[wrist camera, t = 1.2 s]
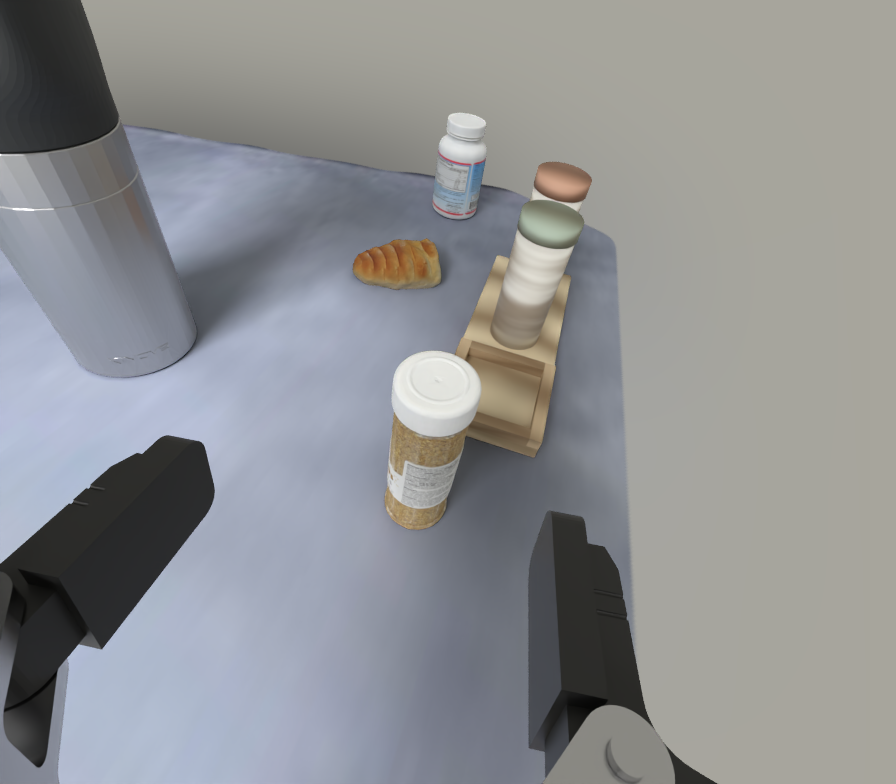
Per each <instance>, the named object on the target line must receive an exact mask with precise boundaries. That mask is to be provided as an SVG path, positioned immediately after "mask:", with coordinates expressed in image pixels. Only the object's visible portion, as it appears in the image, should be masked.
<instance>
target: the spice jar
mask: <svg viewBox="0 0 896 784" xmlns="http://www.w3.org/2000/svg"><path fill="white" fill-rule="evenodd" d="M481 390H482V388H481V381H480V378H479V376H478V374H477V372H476V371H475V369H474V368H473V367H472V366H471V365H470V364H469V363H468V362H466V361H465V360H463V359H462V358H460V357H458V356H456V355H454V354H451V353H447V352H442V351H424V352H420V353H416V354H414V355H412V356H410V357H408V358H407V359H405V360H404V361H403V362H402V363H401V364H400V365H399V366H398V368H397V370H396V372H395V375H394V378H393V387H392V407H393V410H394V418H393V429H392V436H391V441H390V451H389V462H388V473H387V482H388V486H387V490H386V493H385V506H386V510H387V512H388V514H389V515H390V517H391V518H392V520H394V521H395V522H396V523H397V524H399V525H401V526H402V527H405V528H407V529H416V530H420V529H426V528H428V527H431V526H433V525H434V524H435V523H437V522H438V521H439V520H440V518H441V517H442V516H443V514H444V512H445V509H446V502H447V500H446V499H447V496H448V494H449V492H450V490H451V486H452V483H453V480H454V477H455V474H456V470H457V467H458V464H459V461H460V457H461V454H462V451H463V447H464V441H465V437H466V433H467V430H468V427H469V425H470V423H471V422H472V420H473V419H474V417H475V414H476V411H477V408H478V405H479V401H480V397H481Z"/></svg>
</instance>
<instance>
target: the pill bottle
mask: <svg viewBox="0 0 896 784" xmlns="http://www.w3.org/2000/svg"><path fill="white" fill-rule="evenodd" d="M485 128H486V122H485V121H484V120H483V119H482V118H480V117H478V116H475V115H472V114H467V113H454V114H451V115H450V116H449V117H448V122H447V132H448V135H445V136H444V137H443V138H442V139H441V141H440V143H439V150H438V159H437V167H436V175H435V184H434V192H433V202H432V204H433V207H434V209H435V210H436V211H437V212H438V213H439V214H440V215H442V216H444V217H446V218H450V219H467V218H470V217H471V216H473V215H474V214H475V212H476V208H477V203H478V198H479V192H480V187H481V181H482V176H483V171H484V166H485V160H486V154H487V149H486V146H485V144H484V142H483V141H482V140H481V139H482V138H483V137H484V134H485Z"/></svg>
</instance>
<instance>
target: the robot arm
mask: <svg viewBox="0 0 896 784" xmlns="http://www.w3.org/2000/svg"><path fill="white" fill-rule="evenodd" d="M0 248H1V250H2V251H3V253H4V254H5V256H6V257H7V259H8V260H9V262H10V263H11V265H12V266H13V268H14V269H15V271H16V272H17V273H18V275H19V276H20V278H21V279H22V281H23V282H24V284H25V285H26V287H27V288H28V290H29V291H30V293H31V294H32V296H33V297H34V299H35V300H36V301H37V303H38V304H39V306H40V307H41V309H42V310H43V312H44V313H45V315H46V316H47V318H48V319H49V321H50V322H51V324H52V325H53V327H54V328H55V330H56V331H57V333H58V334H59V336H60V337H61V338H62V340H63V341H64V343H65V344H66V346H67V347H68V349H69V350H70V351H71V353H72V354H73V356H74V357H75V359H76V360H77V362H78V363H79V364H80V365H81V366H82V367H83V368H85V369H86V370H88V371H90V372H92V373H95V374H97V375H102V376H107V377H133V376H139V375H144V374H148V373H152V372H155V371H157V370H160V369H163V368H165V367H167V366H169V365H171V364H173V363H174V362H176V361H177V360H178V359H180V358H181V357H183V356H184V355H185V354H186V353H187V352H188V351H189V350H190V348H191V347H192V345H193V343H194V342H195V339H196V335H197V328H196V324H195V321H194V319H193V316H192V313H191V310H190V308H189V305H188V302H187V300H186V297H185V294H184V291H183V288H182V285H181V283H180V280H179V277H178V274H177V272H176V269H175V266H174V263H173V261H172V258H171V255H170V253H169V250H168V247H167V244H166V242H165V239H164V236H163V233H162V231H161V228H160V225H159V223H158V220H157V217H156V214H155V212H154V209H153V206H152V203H151V201H150V198H149V195H148V192H147V190H146V187H145V184H144V182H143V179H142V176H141V173H140V171H139V168H138V165H137V163H136V160H135V158H134V155H133V152H132V150H131V147H130V144H129V141H128V139H127V136H126V133H125V130H124V128H123V125H122V123H121V120H120V117H119V114H118V111H117V109H116V106H115V103H114V100H113V98H112V95H111V92H110V89H109V87H108V83H107V80H106V76H105V73H104V70H103V67H102V63H101V59H100V56H99V53H98V50H97V46H96V43H95V40H94V37H93V34H92V31H91V28H90V26H89V23H88V20H87V17H86V14H85V11H84V8H83V6H82V3H81V0H0ZM214 493H215V488H214V483H213V479H212V475H211V471H210V467H209V463H208V459H207V454H206V450H205V447H204V445H203V444H202V443H201V442H200V441H195V440H190V439H184V438H179V437H174V436H169V435H167V436H163V437H161V438H160V439H158V440H157V441H156V442H155V443H154V444H153V445H152V446H151V447H149V448H148V449H147V450H146V451H145V452H144V453H143V454H139V453H136V454H134V455H132V456H130V457H128V458H127V459H125V460H123V461H121V462H119V463H117V464H115V465H113V466H111V467H110V468H109V469H108V470H107V471H105V472H104V473H103V474H102V475H101V476H100V477H99V478H97V479H96V480H95V481H94V482H93V483H92V484H91V486H90V488H89V489H87V488H86V489H85V490H84V491H83V492H82V493H80V494H79V495H78V496H77V497H76V498H75V499H74V501H73V503H72V504H68V505H67V506H66V507H65V508H63V509H62V510H61V511H60V512H59V513H58V514H57V515H55V516H54V517H53V518H52V519H51V520H50V521H49V522H48V523H46V524H45V525H44V526H43V527H42V528H41V529H40V530H38V531H37V532H36V533H35V534H34V535H33V536H32V537H30V538H29V539H28V540H27V541H26V542H25V543H24V544H23V545H21V546H20V547H19V548H18V549H17V550H16V551H15V552H13V553H12V554H11V555H10V556H9V557H8V558H7V559H6V560H4V561H3V562H2V563H1V564H0V784H59V778H58V760H59V751H60V742H61V733H62V724H63V715H64V706H65V697H66V688H67V679H68V670H69V663H68V660H67V658H68V656H69V655H70V654H71V653H72V651H73V650H74V649H75V648H76V647H77V645H78V644H80V645H85V646H89V647H94V648H98V649H103V647H104V646H105V645H106V643H107V642H108V641H109V640H110V638H111V637H112V636H113V634H114V633H115V632H116V630H117V629H118V628H119V627H120V625H121V624H122V623H123V621H124V620H125V619H126V618H127V616H128V615H129V614H130V612H131V611H132V610H133V609H134V607H135V606H136V605H137V603H138V602H139V601H140V599H141V598H142V597H143V596H144V594H145V593H146V592H147V590H148V589H149V588H150V587H151V585H152V584H153V583H154V581H155V580H156V579H157V578H158V576H159V575H160V574H161V572H162V571H163V570H164V568H165V567H166V566H167V565H168V563H169V562H170V561H171V559H172V558H173V557H174V556H175V554H176V553H177V552H178V550H179V549H180V548H181V547H182V545H183V544H184V543H185V541H186V540H187V539H188V538H189V536H190V535H191V534H192V532H193V531H194V530H195V528H196V527H197V526H198V525H199V523H200V522H201V521H202V519H203V518H204V517H205V516H206V514H207V513H208V511H209V509H210V507H211V505H212V502H213V499H214ZM528 597H529V748H530V749H535V750H539V751H544V752H545V777H546V779H545V780H544V782H543V783H542V784H717V783H715V782H714V781H712V780H710V779H709V778H707V777H705V776H704V775H702V774H700V773H699V772H697V771H695V770H693V769H692V768H691V767H689V766H688V765H686V764H685V763H683V762H682V761H681V760H680V759H679V758H678V757H676V756H675V755H674V754H673V753H672V752H671V750H670V749H669V748H668V747H667V746H666V745H665V744H664V742H663V741H662V739H661V738H660V736H659V735H658V734H657V732H656V731H655V729H654V727H653V725H652V723H651V721H650V719H649V717H648V715H647V712H646V709H645V705H644V701H643V696H642V691H641V685H640V680H639V675H638V670H637V664H636V659H635V654H634V649H633V644H632V638H631V633H630V628H629V623H628V621H627V612H626V607H625V602H624V599H623V591H622V586H621V581H620V576H619V571H618V568H617V567H616V565H615V563H614V562H613V560H612V558H611V557H610V555H609V553H608V552H607V550H606V548H605V547H603V546H598V545H593V544H588V543H587V535H586V528H585V522H584V519H583V518H582V517H579V516H574V515H569V514H564V513H559V512H554V511H548V512H547V513H546V516H545V518H544V521H543V524H542V527H541V530H540V533H539V536H538V538H537V541H536V544H535V547H534V550H533V553H532V557H531V561H530V568H529V582H528Z"/></svg>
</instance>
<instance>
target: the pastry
mask: <svg viewBox="0 0 896 784" xmlns="http://www.w3.org/2000/svg"><path fill="white" fill-rule="evenodd" d="M353 273H354V275H355V276H356V277H357V278H358V279H359V280H361V281H362V282H363V283H365V284H368V285H377V286H382V287H387V288H390V289H395V290H399V289H424V288H432V287H435V286H437V285H438V284H439V283H440V282H441V267H440V264H439V255H438V252H437V248H436V246H435V244H434V243H433V242H431V241H430V240H428V239H424V240H422V241H417V240H415V241H411V240H400V239H399V240H393V241H392V242H391V243H388V244H385V245H383V246H381V247H374V248H372V249H370V250H366V251H365V252H363V253H361V254H358V256H357V257H356V259H355V261H354V263H353Z"/></svg>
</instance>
